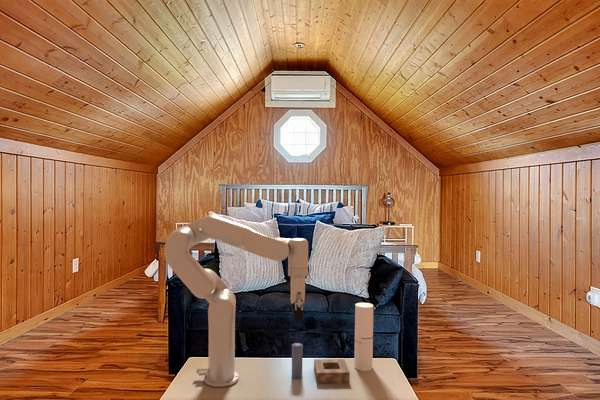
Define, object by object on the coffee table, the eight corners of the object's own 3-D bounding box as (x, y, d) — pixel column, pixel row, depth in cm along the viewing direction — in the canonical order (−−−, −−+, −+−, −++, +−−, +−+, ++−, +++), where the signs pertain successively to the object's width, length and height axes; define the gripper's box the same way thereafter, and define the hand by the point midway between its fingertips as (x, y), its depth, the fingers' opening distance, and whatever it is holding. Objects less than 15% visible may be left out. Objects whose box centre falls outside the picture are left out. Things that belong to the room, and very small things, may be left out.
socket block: (316, 383, 153) (317, 372, 153) (313, 369, 165) (314, 359, 165) (349, 383, 153) (349, 372, 153) (344, 369, 165) (344, 359, 165)
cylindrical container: (372, 371, 164) (373, 308, 163) (353, 369, 165) (354, 306, 165) (372, 364, 171) (373, 303, 170) (354, 362, 172) (356, 302, 172)
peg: (291, 379, 156) (292, 347, 156) (291, 374, 160) (291, 343, 160) (302, 378, 157) (302, 347, 156) (301, 374, 161) (302, 343, 160)
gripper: (287, 267, 166) (287, 310, 166) (288, 276, 149) (288, 324, 149) (306, 267, 166) (306, 309, 167) (309, 276, 149) (309, 323, 149)
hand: (298, 316), depth 158 cm, fingers open, 9 cm apart
